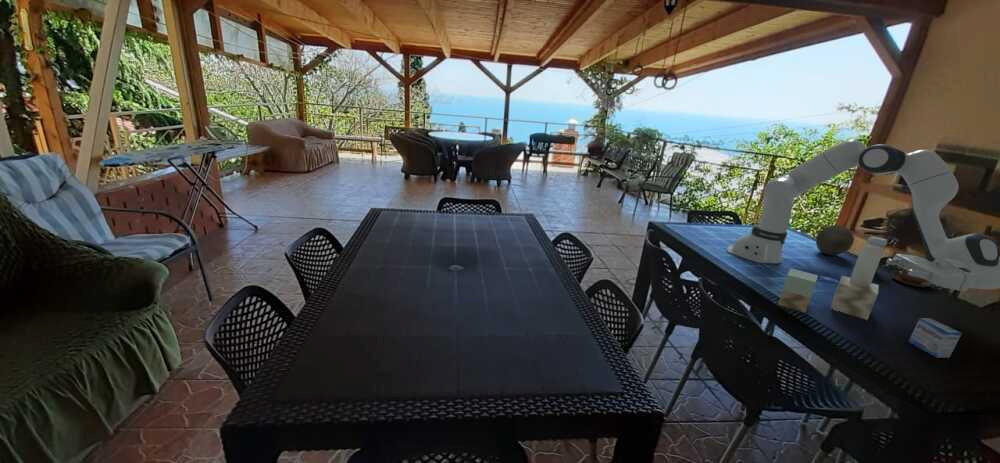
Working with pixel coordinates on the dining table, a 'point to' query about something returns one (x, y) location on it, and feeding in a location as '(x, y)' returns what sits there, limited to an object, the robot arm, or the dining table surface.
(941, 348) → the medicine box
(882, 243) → the beer can
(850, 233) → the cantaloupe
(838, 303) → the shelf block
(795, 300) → the tower block lower
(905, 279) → the cup and saucer
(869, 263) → the canister
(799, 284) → the tower block upper
